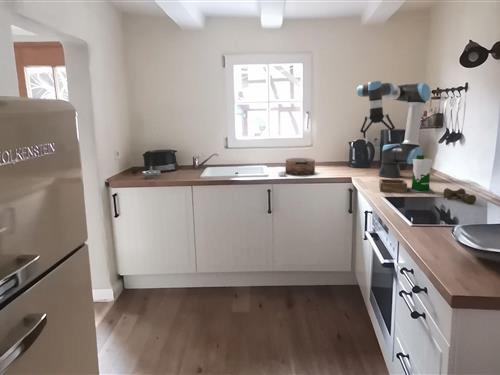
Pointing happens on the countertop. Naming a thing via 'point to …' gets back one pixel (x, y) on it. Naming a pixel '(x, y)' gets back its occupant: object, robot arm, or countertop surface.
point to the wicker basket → (300, 166)
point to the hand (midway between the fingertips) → (378, 142)
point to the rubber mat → (419, 191)
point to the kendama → (460, 195)
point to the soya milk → (421, 173)
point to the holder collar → (392, 185)
